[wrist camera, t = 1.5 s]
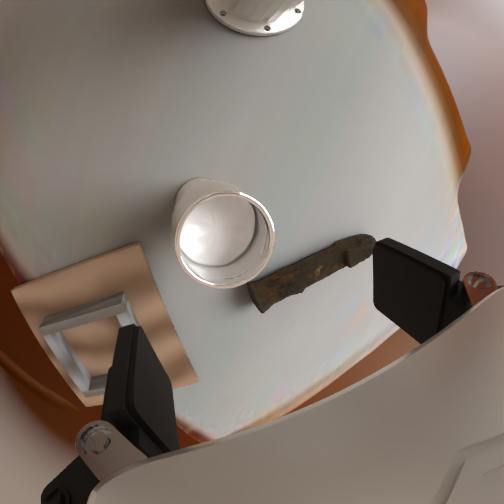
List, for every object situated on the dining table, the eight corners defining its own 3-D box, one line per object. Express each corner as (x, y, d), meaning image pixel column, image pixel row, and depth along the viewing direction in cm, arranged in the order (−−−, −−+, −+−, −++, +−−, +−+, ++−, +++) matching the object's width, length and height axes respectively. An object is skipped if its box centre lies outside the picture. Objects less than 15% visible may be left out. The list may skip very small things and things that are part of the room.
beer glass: (163, 225, 31) (159, 278, 18) (181, 165, 30) (190, 172, 16) (220, 240, 34) (257, 300, 20) (239, 184, 32) (293, 207, 18)
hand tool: (252, 303, 38) (262, 322, 34) (242, 279, 36) (252, 295, 32) (366, 250, 41) (386, 260, 36) (363, 226, 39) (383, 234, 35)
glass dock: (14, 287, 27) (1, 301, 24) (140, 241, 31) (136, 253, 27) (87, 401, 36) (83, 420, 32) (197, 376, 39) (201, 396, 35)
